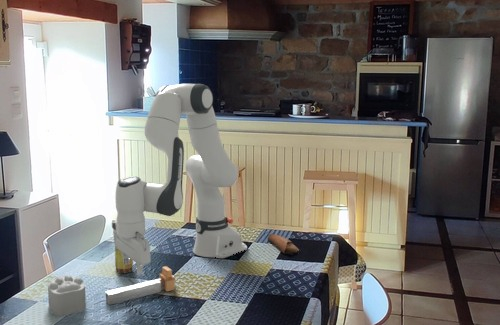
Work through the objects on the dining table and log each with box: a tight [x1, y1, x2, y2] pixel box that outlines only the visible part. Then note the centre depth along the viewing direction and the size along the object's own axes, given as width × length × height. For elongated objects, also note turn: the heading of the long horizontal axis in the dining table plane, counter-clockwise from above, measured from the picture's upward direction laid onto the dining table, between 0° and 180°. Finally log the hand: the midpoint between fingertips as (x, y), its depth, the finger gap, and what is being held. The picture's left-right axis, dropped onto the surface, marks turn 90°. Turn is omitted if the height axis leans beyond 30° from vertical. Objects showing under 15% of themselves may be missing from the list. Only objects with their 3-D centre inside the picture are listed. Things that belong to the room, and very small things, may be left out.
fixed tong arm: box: [105, 274, 176, 305], centre depth 178 cm, size 24×1×4 cm, turn 126°
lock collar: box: [158, 265, 176, 292], centre depth 183 cm, size 3×5×7 cm, turn 36°
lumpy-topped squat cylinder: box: [47, 274, 87, 317], centre depth 169 cm, size 10×13×9 cm
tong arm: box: [107, 281, 162, 306], centre depth 176 cm, size 18×1×4 cm, turn 126°
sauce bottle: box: [114, 245, 134, 274], centre depth 195 cm, size 7×6×20 cm
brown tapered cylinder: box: [267, 233, 300, 255], centre depth 226 cm, size 18×7×7 cm
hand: (132, 268), depth 174 cm, fingers open, 8 cm apart
